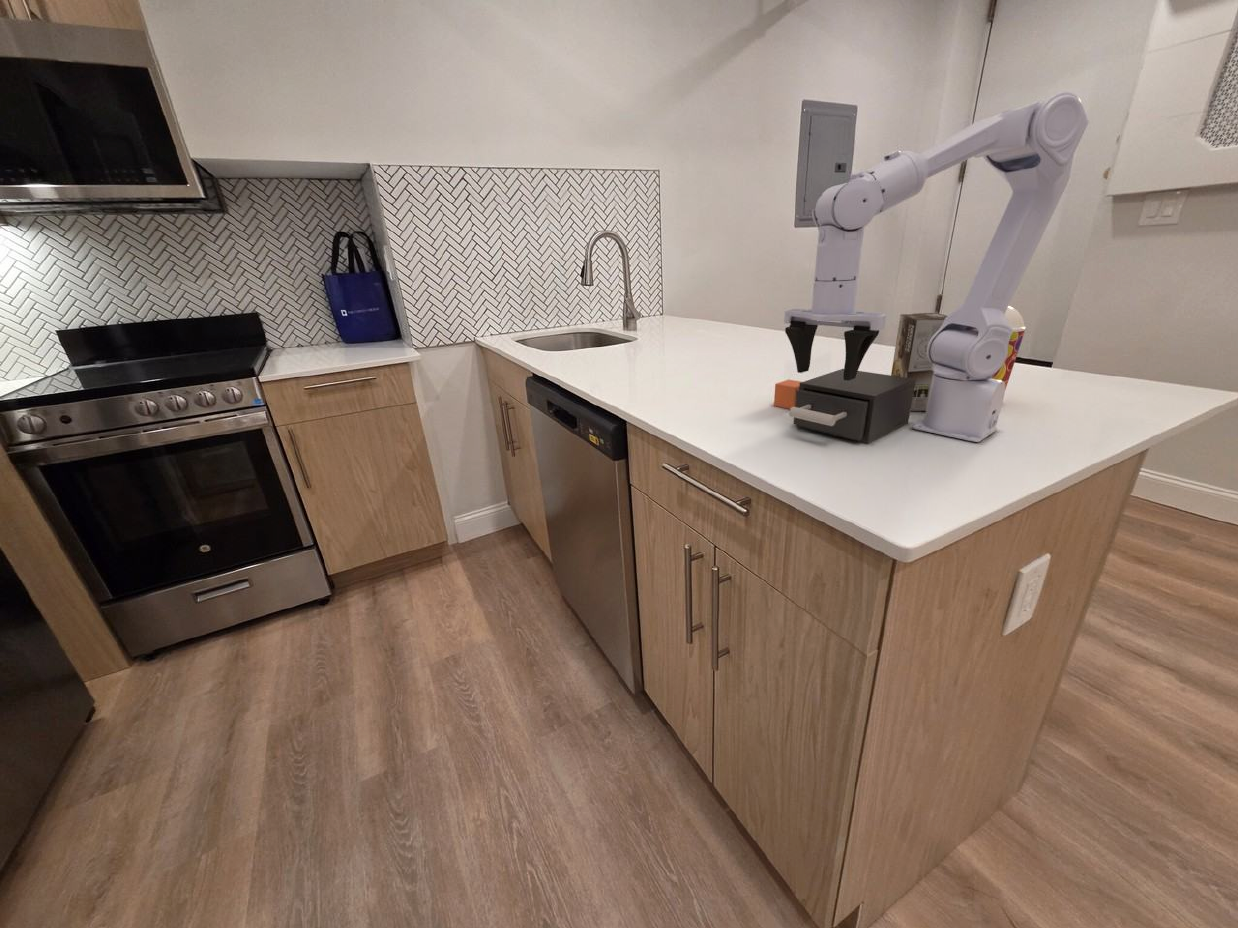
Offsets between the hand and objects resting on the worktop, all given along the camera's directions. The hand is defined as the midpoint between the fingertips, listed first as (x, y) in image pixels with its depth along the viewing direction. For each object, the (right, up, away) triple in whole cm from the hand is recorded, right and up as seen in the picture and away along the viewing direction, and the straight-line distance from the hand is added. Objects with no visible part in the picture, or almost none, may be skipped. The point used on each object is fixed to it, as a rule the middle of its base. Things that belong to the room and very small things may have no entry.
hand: (825, 375), depth 76 cm
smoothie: (+36, -2, +17) cm, 40 cm away
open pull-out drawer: (+5, -7, +7) cm, 11 cm away
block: (+2, -2, +21) cm, 22 cm away
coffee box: (+24, -2, +18) cm, 30 cm away
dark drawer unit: (+8, -7, +10) cm, 14 cm away
